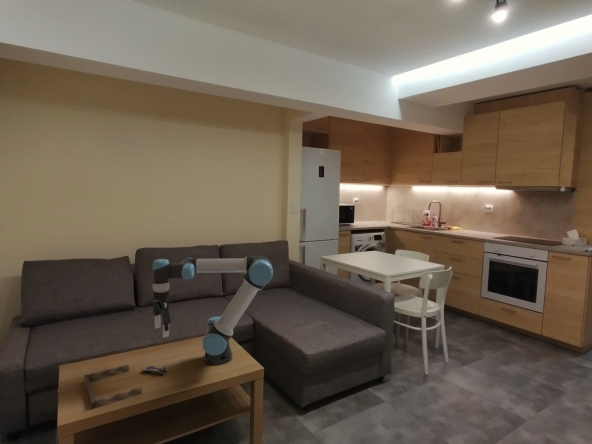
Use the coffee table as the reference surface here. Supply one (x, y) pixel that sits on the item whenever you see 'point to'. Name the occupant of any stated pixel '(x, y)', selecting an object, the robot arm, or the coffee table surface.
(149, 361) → the coffee table surface
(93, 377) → the frame
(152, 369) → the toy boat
